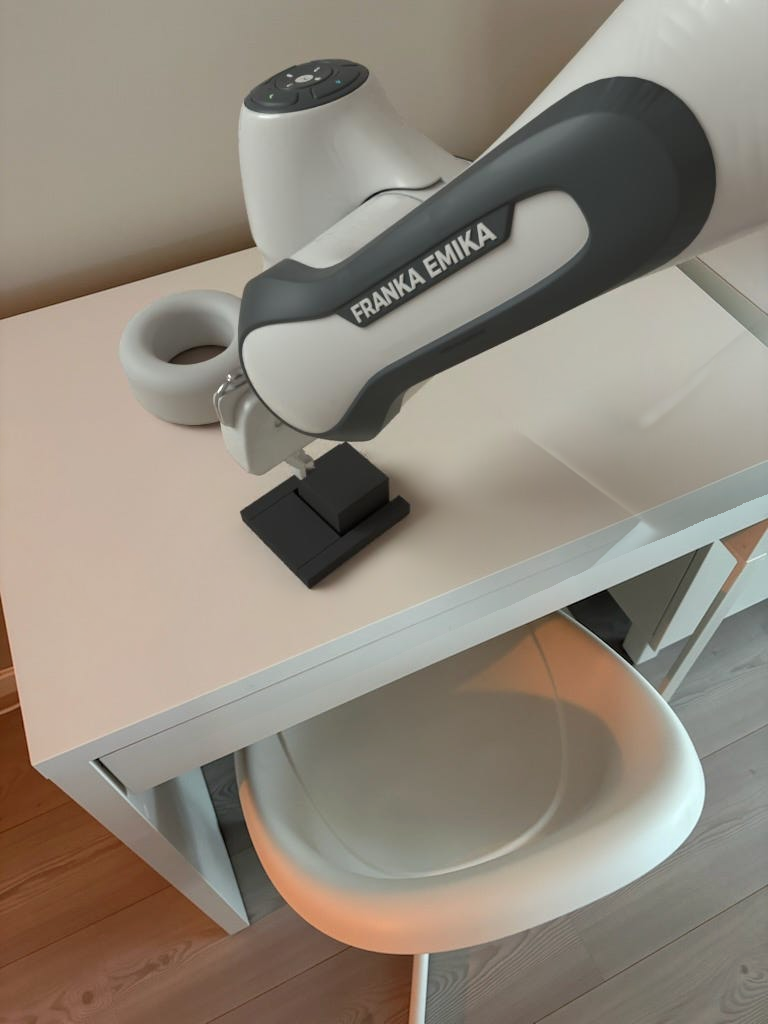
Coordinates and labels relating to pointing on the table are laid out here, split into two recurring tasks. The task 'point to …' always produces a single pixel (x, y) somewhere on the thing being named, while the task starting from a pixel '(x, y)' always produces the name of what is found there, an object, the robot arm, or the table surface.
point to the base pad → (313, 531)
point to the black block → (344, 489)
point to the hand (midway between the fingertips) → (345, 441)
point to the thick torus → (170, 332)
